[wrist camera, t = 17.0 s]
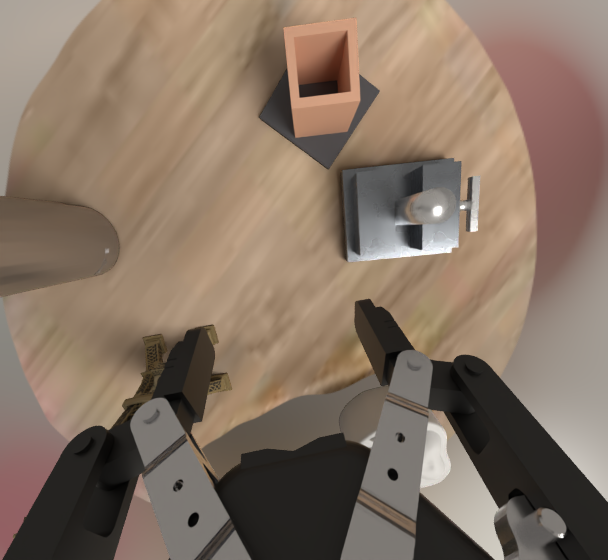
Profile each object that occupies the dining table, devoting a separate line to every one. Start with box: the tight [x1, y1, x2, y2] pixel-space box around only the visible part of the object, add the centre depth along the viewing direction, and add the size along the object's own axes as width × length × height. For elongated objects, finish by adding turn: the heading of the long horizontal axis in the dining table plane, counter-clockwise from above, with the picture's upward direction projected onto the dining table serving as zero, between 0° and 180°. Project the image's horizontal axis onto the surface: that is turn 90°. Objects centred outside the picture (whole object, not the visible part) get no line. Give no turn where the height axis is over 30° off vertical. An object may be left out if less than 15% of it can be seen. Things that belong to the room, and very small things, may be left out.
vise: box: [341, 158, 480, 262], centre depth 25 cm, size 15×11×10 cm
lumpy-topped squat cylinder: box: [339, 385, 451, 488], centre depth 33 cm, size 10×13×9 cm
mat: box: [260, 68, 379, 169], centre depth 28 cm, size 10×10×1 cm
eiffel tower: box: [13, 325, 232, 538], centre depth 23 cm, size 11×11×25 cm
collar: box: [283, 18, 360, 138], centre depth 24 cm, size 6×6×7 cm
